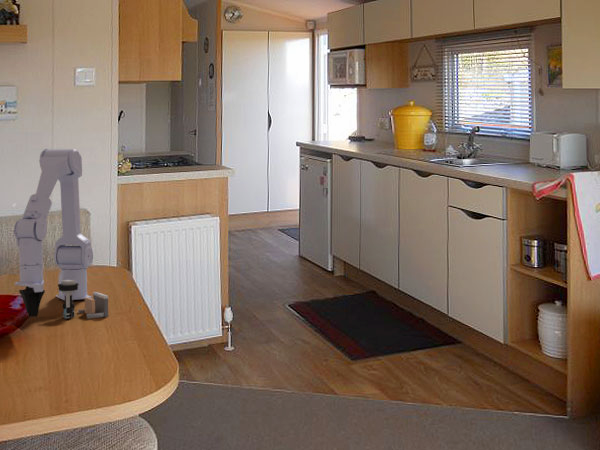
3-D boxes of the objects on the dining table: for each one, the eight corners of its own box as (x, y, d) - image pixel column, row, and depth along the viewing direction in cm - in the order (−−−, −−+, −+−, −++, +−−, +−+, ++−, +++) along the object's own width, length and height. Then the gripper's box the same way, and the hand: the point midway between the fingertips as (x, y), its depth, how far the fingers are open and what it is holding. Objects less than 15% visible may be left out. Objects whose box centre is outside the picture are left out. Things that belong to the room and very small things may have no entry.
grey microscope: (77, 319, 187) (76, 282, 187) (56, 320, 186) (55, 282, 186) (80, 315, 194) (79, 279, 193) (59, 316, 193) (58, 279, 192)
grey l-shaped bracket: (77, 314, 196) (77, 293, 196) (97, 312, 199) (97, 291, 199) (88, 318, 189) (87, 297, 188) (108, 316, 192) (108, 295, 192)
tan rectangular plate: (85, 313, 196) (84, 297, 195) (87, 313, 196) (87, 297, 196) (92, 316, 191) (91, 300, 191) (95, 316, 191) (94, 299, 191)
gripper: (8, 263, 188) (9, 314, 189) (21, 268, 176) (23, 322, 177) (36, 261, 192) (37, 311, 193) (51, 266, 180) (52, 319, 181)
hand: (32, 316), depth 185 cm, fingers closed
